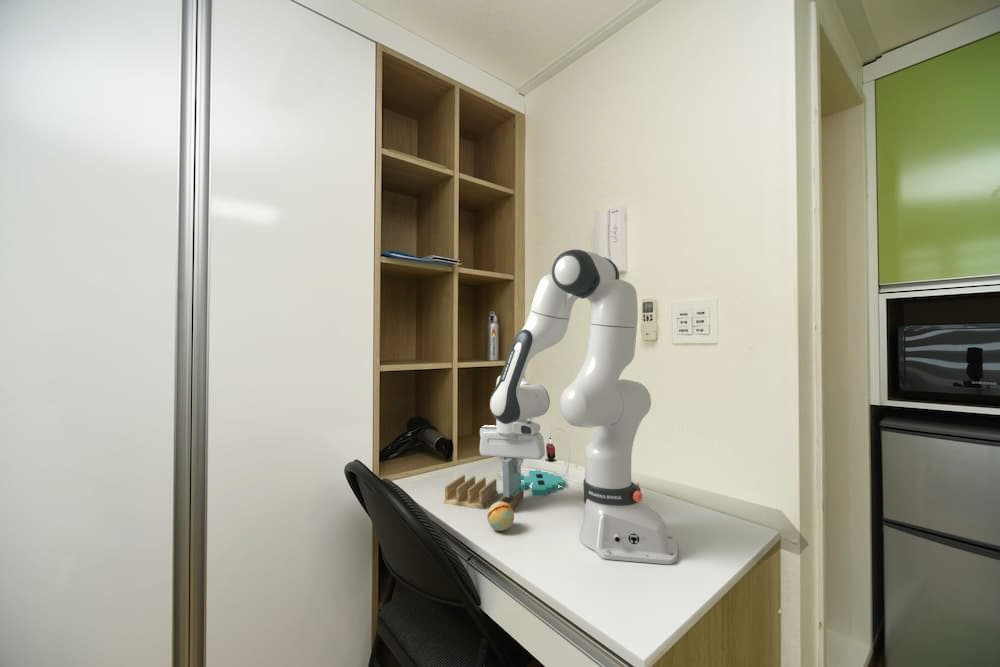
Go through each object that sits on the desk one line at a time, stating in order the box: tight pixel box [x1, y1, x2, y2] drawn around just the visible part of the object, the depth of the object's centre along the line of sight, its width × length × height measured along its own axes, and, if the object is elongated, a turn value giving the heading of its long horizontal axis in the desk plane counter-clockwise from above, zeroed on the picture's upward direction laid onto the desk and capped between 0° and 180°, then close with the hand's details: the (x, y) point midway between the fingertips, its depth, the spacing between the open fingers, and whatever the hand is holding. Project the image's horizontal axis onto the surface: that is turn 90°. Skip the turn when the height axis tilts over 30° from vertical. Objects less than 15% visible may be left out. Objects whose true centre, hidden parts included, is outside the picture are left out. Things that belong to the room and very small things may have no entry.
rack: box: [443, 474, 499, 510], centre depth 121 cm, size 13×12×5 cm
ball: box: [486, 501, 515, 532], centre depth 100 cm, size 7×7×7 cm
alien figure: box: [513, 469, 565, 496], centre depth 133 cm, size 20×2×20 cm
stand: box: [496, 490, 525, 512], centre depth 116 cm, size 5×12×2 cm, turn 159°
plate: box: [501, 457, 522, 497], centre depth 116 cm, size 2×11×10 cm, turn 159°
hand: (512, 472), depth 116 cm, fingers closed on plate, 2 cm apart
